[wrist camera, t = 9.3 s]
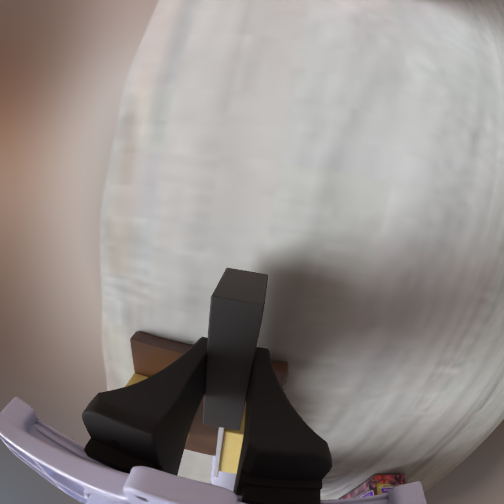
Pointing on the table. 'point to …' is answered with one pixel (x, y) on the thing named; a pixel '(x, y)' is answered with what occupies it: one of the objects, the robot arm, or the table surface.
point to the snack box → (377, 486)
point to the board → (162, 355)
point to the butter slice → (231, 448)
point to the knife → (231, 349)
